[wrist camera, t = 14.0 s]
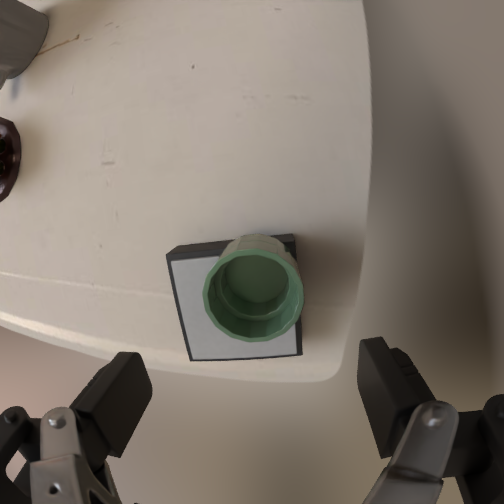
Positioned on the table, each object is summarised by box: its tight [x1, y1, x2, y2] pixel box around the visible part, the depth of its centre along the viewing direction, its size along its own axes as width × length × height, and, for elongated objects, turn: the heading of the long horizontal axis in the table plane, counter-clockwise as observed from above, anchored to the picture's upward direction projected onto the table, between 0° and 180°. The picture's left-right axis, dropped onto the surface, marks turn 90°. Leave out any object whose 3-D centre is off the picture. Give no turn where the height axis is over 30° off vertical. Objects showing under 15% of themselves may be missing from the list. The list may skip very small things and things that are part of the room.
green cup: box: [202, 234, 304, 342], centre depth 19 cm, size 6×6×5 cm
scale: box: [166, 234, 303, 361], centre depth 24 cm, size 10×10×3 cm
